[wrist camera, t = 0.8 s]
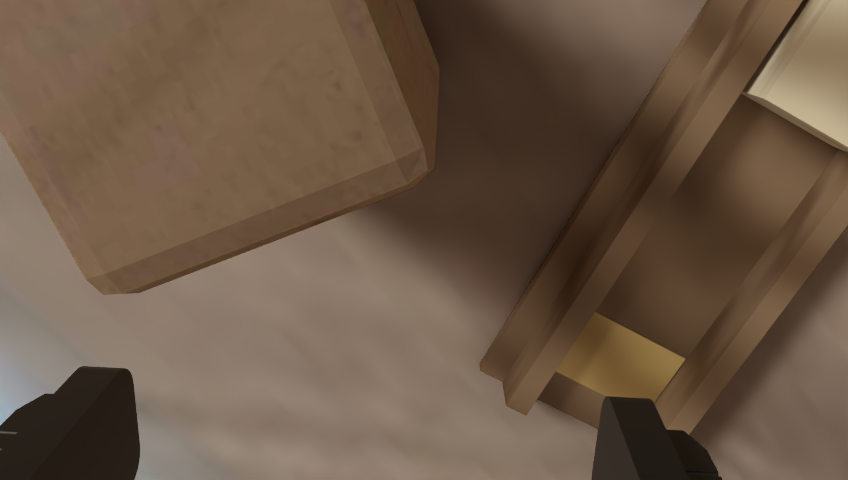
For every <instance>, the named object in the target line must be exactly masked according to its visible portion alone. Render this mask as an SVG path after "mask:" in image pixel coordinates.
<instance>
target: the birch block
mask: <svg viewBox="0 0 848 480" xmlns="http://www.w3.org/2000/svg"><path fill="white" fill-rule="evenodd" d="M741 94H743V95H745V96H746V97H748V98H750V99H751V100H753V101H755V102H757V103H758V104H760V105H762V106H764V107H765V108H767V109H769V110H770V111H772V112H774V113H776V114H777V115H779V116H781V117H783V118H784V119H786V120H788V121H790V122H791V123H793V124H795V125H796V126H798V127H800V128H802V129H803V130H805V131H807V132H809V133H810V134H812V135H814V136H815V137H817V138H819V139H821V140H822V141H824V142H826V143H828V144H829V145H831V146H833V147H835V148H838V149H840V150H843V151H845V152H848V0H803V1H802V2H801V4H800V5H799V7H798V8H797V10H796V11H795V13H794V14H793V16H792V17H791V19H790V20H789V22H788V23H787V25H786V26H785V28H784V29H783V31H782V32H781V34H780V35H779V37H778V38H777V40H776V41H775V43H774V44H773V46H772V47H771V49H770V50H769V52H768V53H767V55H766V56H765V58H764V59H763V61H762V62H761V64H760V65H759V67H758V68H757V70H756V71H755V73H754V74H753V76H752V77H751V79H750V80H749V82H748V83H747V85H746V86H745V88H744V89H743V91H742V92H741Z"/></svg>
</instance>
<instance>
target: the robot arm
mask: <svg viewBox="0 0 848 480" xmlns="http://www.w3.org/2000/svg"><path fill="white" fill-rule="evenodd" d="M139 458H140V442H139V433H138V423H137V413H136V403H135V394H134V384H133V378H132V375H131V373H130V371H129V370H128V369H124V368H106V367H88V366H83V367H80V368H78V369H77V370H76V371H75V372H74V373H73V374H72V375H71V376H70V377H69V378H68V379H67V381H66V382H65V383H64V384H63V385H62V386H61V387H60V388H59V389H58V390H57V391H56V392H55V393H54V394H44V395H42V396H40V397H38V398H37V399H35V400H33V401H31V402H30V403H28V404H26V405H24V406H22V407H21V408H19V409H17V410H16V411H15V412H14V413H13V414H12V415H11V416H10V417H9V418H8V419H7V420H6V421H5V422H4V423H3V424H2V425H1V426H0V480H134V479H135V476H136V473H137V469H138V464H139ZM592 480H722V478H721V477H719V476H718V471H717V469H716V467H715V465H714V463H713V461H712V459H711V457H710V456H709V454H708V452H707V450H706V449H705V448H703V447H702V446H701V445H700V444H699V443H698V442H697V441H695V440H694V439H693V438H692V437H691V436H690V435H688V434H687V433H686V432H685V431H684V430H666V428H665V426H664V424H663V421H662V419H661V417H660V415H659V413H658V411H657V409H656V406H655V404H654V402H653V401H652V400H651V399H649V398H631V397H613V396H606V397H605V398H604V400H603V403H602V407H601V414H600V421H599V428H598V435H597V442H596V449H595V456H594V463H593V470H592Z"/></svg>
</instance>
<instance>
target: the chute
mask: <svg viewBox="0 0 848 480" xmlns="http://www.w3.org/2000/svg"><path fill="white" fill-rule="evenodd" d="M802 1H803V0H707V2H706V3H705V5H704V7H703V8H702V10H701V11H700V13H699V15H698V16H697V18H696V19H695V21H694V23H693V24H692V26H691V27H690V29H689V31H688V32H687V34H686V35H685V37H684V39H683V40H682V42H681V43H680V45H679V47H678V48H677V50H676V51H675V53H674V55H673V56H672V58H671V59H670V61H669V62H668V64H667V66H666V67H665V69H664V70H663V72H662V74H661V75H660V77H659V78H658V80H657V82H656V83H655V85H654V86H653V88H652V90H651V91H650V93H649V94H648V96H647V98H646V99H645V101H644V102H643V104H642V106H641V107H640V109H639V110H638V112H637V114H636V115H635V117H634V118H633V120H632V122H631V123H630V125H629V126H628V128H627V130H626V131H625V133H624V134H623V136H622V137H621V139H620V141H619V142H618V144H617V145H616V147H615V149H614V150H613V152H612V153H611V155H610V157H609V158H608V160H607V161H606V163H605V165H604V166H603V168H602V169H601V171H600V173H599V174H598V176H597V177H596V179H595V181H594V182H593V184H592V185H591V187H590V189H589V190H588V192H587V193H586V195H585V197H584V198H583V200H582V201H581V203H580V205H579V206H578V208H577V209H576V211H575V212H574V214H573V216H572V217H571V219H570V220H569V222H568V224H567V225H566V227H565V228H564V230H563V232H562V233H561V235H560V236H559V238H558V240H557V241H556V243H555V244H554V246H553V248H552V249H551V251H550V252H549V254H548V256H547V257H546V259H545V260H544V262H543V264H542V265H541V267H540V268H539V270H538V272H537V273H536V275H535V276H534V278H533V280H532V281H531V283H530V284H529V286H528V287H527V289H526V291H525V292H524V294H523V295H522V297H521V299H520V300H519V302H518V303H517V305H516V307H515V308H514V310H513V311H512V313H511V315H510V316H509V318H508V319H507V321H506V323H505V324H504V326H503V327H502V329H501V331H500V332H499V334H498V335H497V337H496V339H495V340H494V342H493V343H492V345H491V347H490V348H489V350H488V351H487V353H486V355H485V356H484V358H483V359H482V361H481V362H480V371H482V372H484V373H486V374H488V375H490V376H492V377H494V378H496V379H498V380H500V381H502V382H503V389H504V395H505V402H506V406H508V407H510V408H512V409H514V410H516V411H518V412H520V413H522V414H524V415H527V413H528V412H529V410H530V409H531V407H532V406H533V404H534V403H535V401H536V400H537V399H538V400H540V401H542V402H544V403H546V404H548V405H550V406H552V407H554V408H556V409H558V410H560V411H563V412H565V413H567V414H569V415H571V416H573V417H575V418H577V419H579V420H581V421H583V422H585V423H587V424H589V425H591V426H593V427H595V428H597V429H598V428H599V421H600V414H601V407H602V403H603V400H604V398H605V397H606V396H613V397H631V398H649V399H651V400H652V401H653V402H654V404H655V406H656V409H657V411H658V413H659V415H660V417H661V419H662V421H663V424H664V426H665V428H666V430H684V431H685V432H686V433H687V434H688V435H689V434H690V433H691V432H692V430H693V429H694V428H695V426H696V425H697V424H698V422H699V421H700V420H701V418H702V417H703V416H704V415H705V413H706V412H707V411H708V409H709V408H710V407H711V405H712V404H713V403H714V401H715V400H716V399H717V397H718V396H719V395H720V393H721V392H722V391H723V389H724V388H725V387H726V385H727V384H728V383H729V381H730V380H731V379H732V377H733V376H734V375H735V374H736V372H737V371H738V370H739V368H740V367H741V366H742V364H743V363H744V362H745V360H746V359H747V358H748V356H749V355H750V354H751V352H752V351H753V350H754V348H755V347H756V346H757V344H758V343H759V342H760V340H761V339H762V338H763V337H764V335H765V334H766V333H767V331H768V330H769V329H770V327H771V326H772V325H773V323H774V322H775V321H776V319H777V318H778V317H779V315H780V314H781V313H782V311H783V310H784V309H785V307H786V306H787V305H788V303H789V302H790V301H791V299H792V298H793V297H794V296H795V294H796V293H797V292H798V290H799V289H800V288H801V286H802V285H803V284H804V282H805V281H806V280H807V278H808V277H809V276H810V274H811V273H812V272H813V270H814V269H815V268H816V266H817V265H818V264H819V262H820V261H821V260H822V258H823V257H824V256H825V255H826V253H827V252H828V251H829V249H830V248H831V247H832V245H833V244H834V243H835V241H836V240H837V239H838V237H839V236H840V235H841V233H842V232H843V231H844V229H845V228H846V227H847V225H848V152H845V151H843V150H840V149H838V148H835V147H833V146H831V145H829V144H828V143H826V142H824V141H822V140H821V139H819V138H817V137H815V136H814V135H812V134H810V133H809V132H807V131H805V130H803V129H802V128H800V127H798V126H796V125H795V124H793V123H791V122H790V121H788V120H786V119H784V118H783V117H781V116H779V115H777V114H776V113H774V112H772V111H770V110H769V109H767V108H765V107H764V106H762V105H760V104H758V103H757V102H755V101H753V100H751V99H750V98H748V97H746V96H745V95H743V94H741V92H742V91H743V89H744V88H745V86H746V85H747V83H748V82H749V80H750V79H751V77H752V76H753V74H754V73H755V71H756V70H757V68H758V67H759V65H760V64H761V62H762V61H763V59H764V58H765V56H766V55H767V53H768V52H769V50H770V49H771V47H772V46H773V44H774V43H775V41H776V40H777V38H778V37H779V35H780V34H781V32H782V31H783V29H784V28H785V26H786V25H787V23H788V22H789V20H790V19H791V17H792V16H793V14H794V13H795V11H796V10H797V8H798V7H799V5H800V4H801V2H802Z"/></svg>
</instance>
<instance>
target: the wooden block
mask: <svg viewBox="0 0 848 480" xmlns="http://www.w3.org/2000/svg"><path fill="white" fill-rule="evenodd" d="M438 97H439V65H438V62H437V60H436V57H435V54H434V52H433V49H432V47H431V44H430V41H429V39H428V36H427V34H426V31H425V29H424V26H423V23H422V21H421V18H420V16H419V13H418V10H417V8H416V5H415V3H414V0H0V131H1V133H2V134H3V136H4V138H5V140H6V141H7V143H8V145H9V147H10V148H11V150H12V152H13V154H14V155H15V157H16V159H17V160H18V162H19V164H20V166H21V167H22V169H23V171H24V173H25V174H26V176H27V178H28V180H29V181H30V183H31V185H32V187H33V188H34V190H35V192H36V194H37V195H38V197H39V199H40V200H41V202H42V204H43V206H44V207H45V209H46V211H47V213H48V214H49V216H50V218H51V220H52V221H53V223H54V225H55V227H56V228H57V230H58V232H59V233H60V235H61V237H62V239H63V240H64V242H65V244H66V246H67V247H68V249H69V251H70V253H71V254H72V256H73V258H74V260H75V261H76V263H77V265H78V267H79V268H80V270H81V272H82V273H83V275H84V277H85V279H86V280H87V281H88V282H90V283H91V284H92V285H93V286H94V287H95V288H96V289H97V290H98V291H100V292H101V293H102V294H103V295H109V294H126V293H140V292H143V291H145V290H148V289H150V288H153V287H156V286H158V285H161V284H164V283H166V282H169V281H171V280H174V279H177V278H179V277H182V276H184V275H187V274H190V273H192V272H195V271H197V270H200V269H203V268H205V267H208V266H210V265H213V264H216V263H218V262H221V261H224V260H226V259H229V258H231V257H234V256H237V255H239V254H242V253H244V252H247V251H250V250H252V249H255V248H257V247H260V246H263V245H265V244H268V243H271V242H273V241H276V240H278V239H281V238H284V237H286V236H289V235H291V234H294V233H297V232H299V231H302V230H304V229H307V228H310V227H312V226H315V225H317V224H320V223H323V222H325V221H328V220H331V219H333V218H336V217H338V216H341V215H344V214H346V213H349V212H351V211H354V210H357V209H359V208H362V207H364V206H367V205H370V204H372V203H375V202H378V201H380V200H383V199H385V198H388V197H391V196H393V195H396V194H398V193H401V192H404V191H406V190H409V189H411V188H414V187H415V186H416V185H417V184H418V183H419V182H420V181H421V180H422V179H423V178H424V177H425V176H426V175H427V174H428V173H429V172H431V171H432V170H433V169H434V168H435V155H436V136H437V117H438Z"/></svg>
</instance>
